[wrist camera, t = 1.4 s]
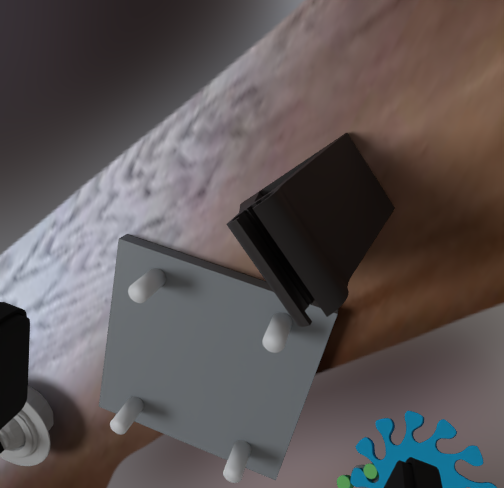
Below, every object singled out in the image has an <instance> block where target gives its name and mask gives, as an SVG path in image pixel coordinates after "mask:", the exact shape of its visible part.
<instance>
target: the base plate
mask: <svg viewBox="0 0 504 488" xmlns="http://www.w3.org/2000/svg"><path fill="white" fill-rule="evenodd" d="M305 312H306V314H307V315H308V316H309V318H310V319H311V321H312V323H311V325H310V326H306V327H300V326H298V325H297V324H296V323H295V321H294V320H293V319H292V317H291V316H290V314H289V313H288V311H287V310H286V309H285V307H284V306H283V304H282V303H281V301H280V300H279V299H278V297H277V296H276V294H275V293H274V291H273V290H272V289H271V287H270V286H269V284H268V283H267V282H266V281H263V280H260V279H257V278H254V277H251V276H248V275H245V274H242V273H239V272H236V271H233V270H230V269H228V268H225V267H222V266H219V265H216V264H213V263H210V262H207V261H204V260H201V259H198V258H195V257H192V256H189V255H187V254H184V253H181V252H178V251H175V250H172V249H169V248H166V247H163V246H160V245H157V244H154V243H151V242H148V241H145V240H143V239H140V238H137V237H134V236H131V235H128V234H126V235H124V236H123V237H121V238H119V242H118V250H117V259H116V267H115V276H114V284H113V292H112V301H111V309H110V318H109V326H108V334H107V343H106V351H105V360H104V368H103V376H102V385H101V393H100V402H99V407H101V408H104V409H106V410H109V411H111V412H113V413H116V416H115V417H114V418H113V419H112V421H111V422H110V426H111V429H112V430H113V431H114V432H115V433H117V434H125V433H126V431H127V430H128V429H129V427H130V426H131V424H132V423H133V422H134V421H135V422H137V423H140V424H142V425H144V426H147V427H149V428H152V429H154V430H156V431H159V432H161V433H164V434H166V435H168V436H171V437H173V438H176V439H178V440H181V441H183V442H185V443H187V444H190V445H192V446H195V447H197V448H200V449H202V450H204V451H207V452H209V453H211V454H214V455H216V456H219V457H221V458H223V459H226V460H228V461H227V464H226V466H225V469H224V471H223V475H224V476H225V478H226V479H227V480H228V481H230V482H233V483H237V482H240V481H241V479H242V476H243V473H244V470H245V468H247V469H250V470H252V471H255V472H257V473H259V474H262V475H264V476H266V477H269V478H271V479H274V480H276V478H277V475H278V473H279V470H280V467H281V465H282V462H283V459H284V457H285V454H286V451H287V449H288V446H289V443H290V441H291V438H292V435H293V432H294V430H295V427H296V424H297V422H298V419H299V416H300V413H301V411H302V408H303V406H304V403H305V400H306V397H307V395H308V392H309V389H310V387H311V384H312V381H313V378H314V376H315V373H316V371H317V368H318V365H319V363H320V360H321V357H322V355H323V352H324V349H325V346H326V344H327V341H328V338H329V336H330V333H331V330H332V328H333V325H334V322H335V320H336V317H337V314H338V309H337V310H336V311H335V312H334V313H332V314H331V315H330V316H328V317H326V315H325V314H324V312H323V311H322V309H321V308H320V306H319V305H318V303H317V302H316V301H315V300H314V302H313V303H312V304H310V305H309V307H308V308H307V309H306V310H305Z"/></svg>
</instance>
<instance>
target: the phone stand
mask: <svg viewBox="0 0 504 488" xmlns="http://www.w3.org/2000/svg"><path fill="white" fill-rule="evenodd" d="M394 209H395V208H394V206H393V205H392V203H391V202H390V200H389V198H388V197H387V195H386V194H385V192H384V190H383V189H382V187H381V186H380V184H379V183H378V181H377V179H376V178H375V176H374V175H373V173H372V171H371V170H370V168H369V167H368V165H367V164H366V162H365V160H364V159H363V157H362V156H361V154H360V153H359V151H358V149H357V148H356V146H355V145H354V143H353V141H352V140H351V138H350V137H349V135H348V134H347V133H345V134H344V135H342V136H341V137H339V138H338V139H336V140H335V141H333V142H332V143H330V144H329V145H327V146H326V147H324V148H323V149H322V150H320V151H319V152H317V153H316V154H314V155H313V156H311V157H310V158H308V159H307V160H305V161H304V162H302V163H301V164H299V165H298V166H296V167H295V168H293V169H292V170H290V171H289V172H287V173H286V174H284V175H283V176H281V177H280V178H278V179H277V180H275V181H274V182H272V183H271V184H269V185H268V186H267V187H265V188H264V189H262V190H261V191H259V192H258V193H256V194H255V195H253V196H252V197H250V198H249V199H247V200H246V201H244V202H243V203H241V204H240V211H239V214H238V215H237V216H235V217H234V218H233V219H232V220H231V221H229V222H228V223H227V226H228V227H229V229H230V230H231V231H232V233H233V234H234V236H235V237H236V239H237V240H238V241H239V243H240V244H241V246H242V247H243V249H244V250H245V251H246V253H247V254H248V256H249V257H250V259H251V260H252V261H253V263H254V264H255V266H256V267H257V269H258V270H259V271H260V273H261V274H262V276H263V277H264V279H265V280H266V281H267V283H268V284H269V286H270V287H271V289H272V290H273V291H274V293H275V294H276V296H277V297H278V299H279V300H280V301H281V303H282V304H283V306H284V307H285V309H286V310H287V311H288V313H289V314H290V316H291V317H292V319H293V320H294V321H295V323H296V324H297V325H298V326H300V327H306V326H310V325H311V323H312V321H311V319H310V318H309V316H308V315H307V314H306V312H305V310H306V309H307V308H308V307H309V305H310V304H312V303H313V302H314V300H315V301H316V302H317V303H318V305H319V306H320V308H321V309H322V311H323V312H324V314H325V315H326V317H328V316H330V315H331V314H332V313H334V312H335V311H336V310H337V309H338V308H339V307H340V306H341V305H342V304H343V303H344V302H345V300H346V299H347V297H348V288H347V286H348V282H349V280H350V278H351V276H352V274H353V273H354V271H355V270H356V268H357V267H358V265H359V263H360V262H361V260H362V259H363V257H364V256H365V254H366V252H367V251H368V249H369V248H370V246H371V245H372V243H373V242H374V240H375V238H376V237H377V235H378V234H379V232H380V231H381V229H382V227H383V226H384V224H385V223H386V221H387V220H388V218H389V216H390V215H391V213H392V212H393V210H394Z"/></svg>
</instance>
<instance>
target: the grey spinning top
mask: <svg viewBox="0 0 504 488" xmlns="http://www.w3.org/2000/svg"><path fill="white" fill-rule="evenodd" d="M52 426H53V412H52V409H51V407H50V405H49V403H48V402H47V400H46V399H45V398H44V397H43V396H42V395H41V394H40V393H39V392H38V391H36V390H34V389H33V388H31V387H29V386H28V394H27V401H26V403H25V405H24V407H23V409H22V410H21V411H20V412H19V413H18V414H17V415H16V416H15V417H14V418H13V419H12V420H11V421H9V422H8V423H7V424H6V425H5V426H4V427H3V428H2V429H1V430H0V457H1V458H2V459H4V460H6V461H9V462H11V463H14V464H17V465H22V466H32V465H37V464H39V463H41V462H42V461H44V460H45V458H46V457H47V456H48V454H49V451H50V443H51V442H50V435H49V432H48V431H49V430H50V429H51V427H52Z"/></svg>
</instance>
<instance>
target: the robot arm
mask: <svg viewBox="0 0 504 488" xmlns="http://www.w3.org/2000/svg"><path fill="white" fill-rule="evenodd" d="M29 336H30V320H29V318H27V316H26V312H25V310H23V309H21V308H18V307H15V306H13V305H10V304H8V303H5V302H0V430H1V429H2V428H3V427H4V426H5V425H6V424H7V423H8V422H9V421H11V420H12V419H13V418H14V417H15V416H16V415H17V414H18V413H19V412H20V411H21V410H22V409H23V407H24V405H25V403H26V401H27V394H28V365H29ZM384 488H443V487H442V482H441V477H440V472H439V469H438V468H437V467H436V466H433V465H431V464H428V463H425V462H423V461H420V460H417V459H415V458H412V457H409V458H408V459H407V460H406V462H403V461H400V460H399V461H398V462H397V463H396V465H395V467H394V469H393V471H392V472H391V474H390V476H389V478H388V480H387V482H386V484H385V486H384Z"/></svg>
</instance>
